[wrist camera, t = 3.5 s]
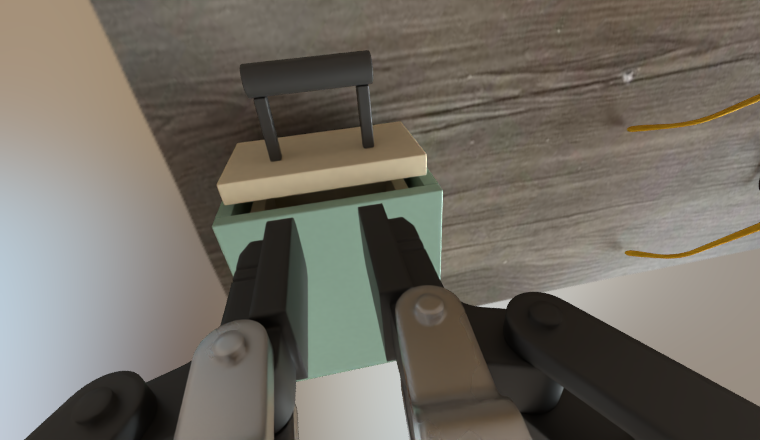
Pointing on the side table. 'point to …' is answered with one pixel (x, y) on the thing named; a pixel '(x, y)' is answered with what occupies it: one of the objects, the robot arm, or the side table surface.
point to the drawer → (317, 141)
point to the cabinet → (338, 265)
